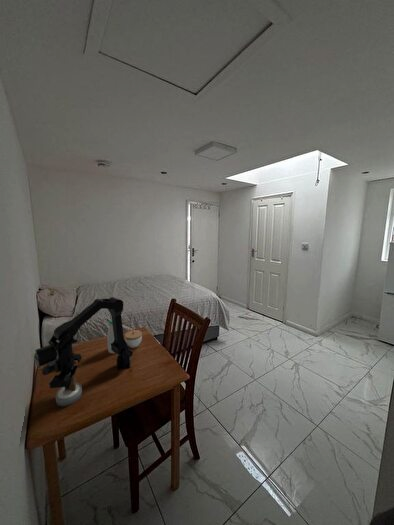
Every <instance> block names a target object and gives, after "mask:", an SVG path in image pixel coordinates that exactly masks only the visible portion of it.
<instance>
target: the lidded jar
mask: <svg viewBox="0 0 394 525" xmlns="http://www.w3.org/2000/svg"><path fill="white" fill-rule="evenodd" d="M124 339H125V341H126V343H127V345H128V348H133V349H135V348H137V347H139V345H140V344H141V343H142V340H143V333H142V331H141V330H138V329H137V330H134V329H133V330H129V331H127V332H125V333H124Z"/></svg>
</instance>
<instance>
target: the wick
mask: <svg viewBox="0 0 394 525" xmlns="http://www.w3.org/2000/svg"><path fill="white" fill-rule="evenodd" d="M76 383H77V382H76V374H75V375H73V377H72V380H71V383H70V386H69V388H68V389H66V388H65V391H66V390H71V391H75V390H76Z"/></svg>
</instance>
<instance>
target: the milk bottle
mask: <svg viewBox="0 0 394 525" xmlns="http://www.w3.org/2000/svg"><path fill="white" fill-rule="evenodd" d="M108 323H109V327H108V330H107V334H106V335H107V351H108V353H110V354H115V353H114V352H113V351H112V350H111V343H113V342H114V332H113V325H112V318H111V319H110V320H109V322H108Z"/></svg>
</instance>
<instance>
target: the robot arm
mask: <svg viewBox="0 0 394 525" xmlns="http://www.w3.org/2000/svg"><path fill="white" fill-rule="evenodd" d="M102 309H106V310H108V312H109V314H110V316H111V319H112V325H113V332H114V342H113V343H111V350H112V351H113V352H114V353H113V354H115V355H117V357H116V366H117V370H123V369H124V370H125V369H129V368H131V364H132V359H131V357H132V356H133V353H134V352H133V350H130V349H129V348H130V347H129V346H128V345H127V343H126V341H125V334H124V327H123V319H122V318H123V317H122V313H123V312H124V301H123V300H122V299H121V298H120V299H119V298H118V297H113V296H111V297H109V298H96V299H94V300H93V302H92V303H90V305H88V306H87V307H85V309H83V310H81V312H79V314H77V315H76V316H74V317H73V318H72V319H70V320H68V321H65V322H64V323H62V324H60V325H59V326H57V327H56V328H54V330H53V334H52V336H51V338H50V339H49V341H48V342H47V343H48V345H47V346H43V347H41V348H37V349H35V352H34V356H33V358H34V364H35V365H36V367H37V368H40V367H42V366H43V367H42V369H41V374H42V375H43V376H48V375H50V374H53V373H54V372H55V373H59V374H56V375H54V376H53V377H52V378H51V380H50V381H49V382H48V386H49V388H50V389H57V388H62V387H65V388H66V389H68V388H69V386H70V383H71V380H72V377H73V375H75V376H76V372H77V369H78V367H79V366H78V365H76V361H77V363H81V362H82V355H81V354H80V353H75V352H74V349H73V347H74V345H73V344H76V343H78V339H76V338H74V337H75V336H76V335H77V334H78V331H79V330H80V328H81V327H82V326H83V325H85V323H87V321H89V320H90V319H91V318H92V317H94V316H95V315H96V314H97V313H98V312H99V311H100V310H102ZM72 345H73V346H72ZM57 356H58V358H57Z"/></svg>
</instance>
